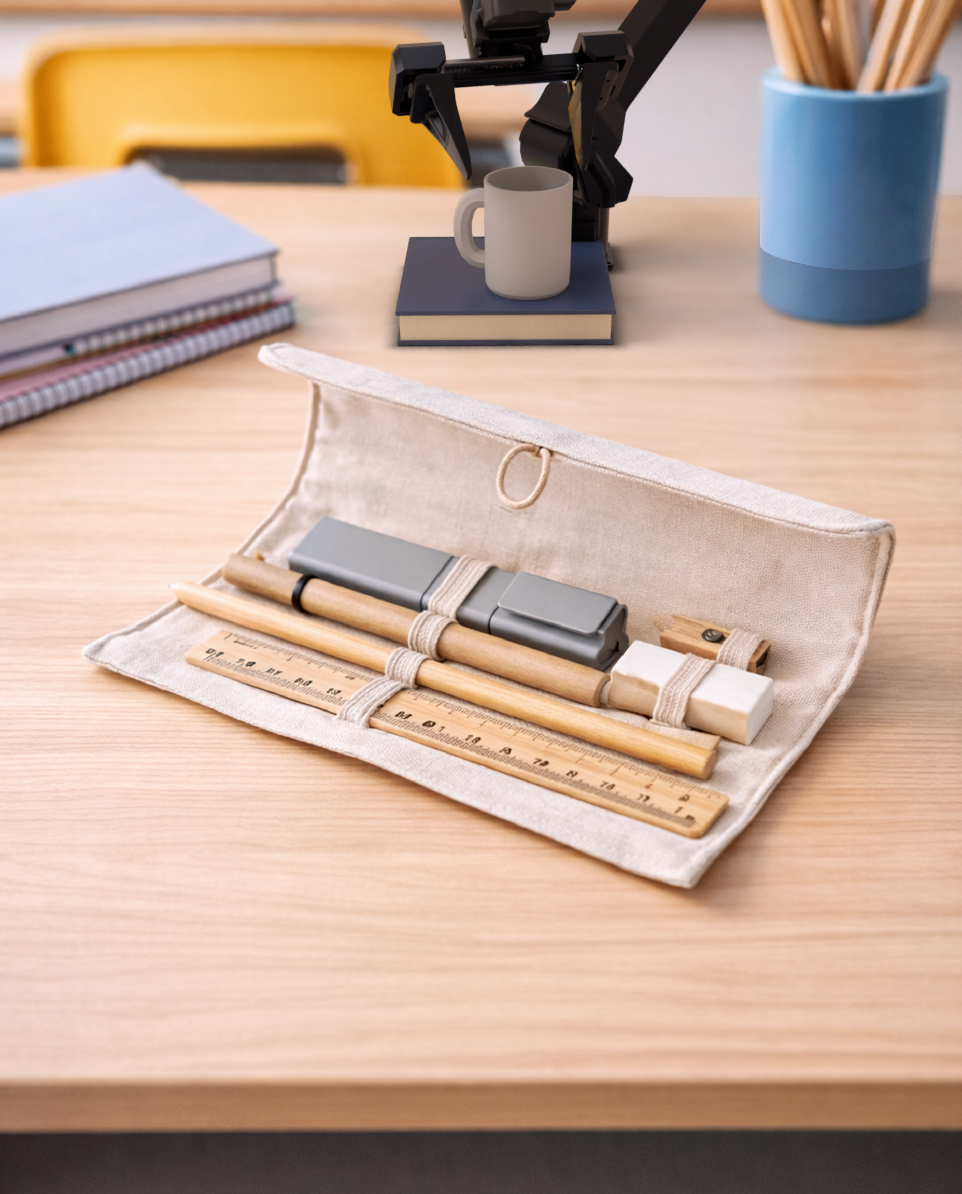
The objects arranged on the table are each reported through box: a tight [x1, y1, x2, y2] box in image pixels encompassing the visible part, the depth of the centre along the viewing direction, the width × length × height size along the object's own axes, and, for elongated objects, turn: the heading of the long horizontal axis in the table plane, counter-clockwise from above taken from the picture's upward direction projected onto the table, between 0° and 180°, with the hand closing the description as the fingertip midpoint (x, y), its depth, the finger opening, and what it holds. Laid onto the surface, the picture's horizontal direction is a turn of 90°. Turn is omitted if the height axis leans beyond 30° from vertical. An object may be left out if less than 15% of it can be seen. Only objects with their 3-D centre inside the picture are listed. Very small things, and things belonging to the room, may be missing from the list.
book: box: [394, 235, 617, 347], centre depth 105 cm, size 18×18×3 cm
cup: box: [452, 165, 573, 300], centre depth 99 cm, size 7×10×9 cm
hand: (527, 172), depth 92 cm, fingers open, 9 cm apart
